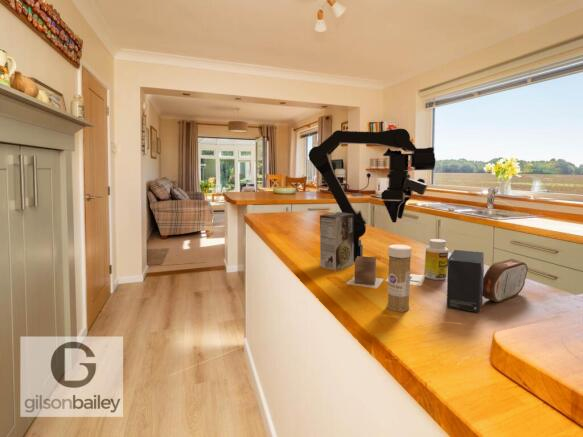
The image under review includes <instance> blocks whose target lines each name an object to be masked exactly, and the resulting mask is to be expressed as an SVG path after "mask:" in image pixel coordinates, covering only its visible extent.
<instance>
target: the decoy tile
mask: <svg viewBox="0 0 583 437" xmlns="http://www.w3.org/2000/svg"><path fill="white" fill-rule="evenodd" d="M383 281H385V278H380V277H376V281H375V285H366V284H355V275H354V276H353V277H351V278H350V280H348V281H347V283H345V284H346V285H351V286H358V287H363V288H364V287H365V288H372V289H378V288H379V286H380V285H381V284H382V283H383Z"/></svg>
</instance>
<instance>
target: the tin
mask: <svg viewBox="0 0 583 437" xmlns="http://www.w3.org/2000/svg"><path fill="white" fill-rule="evenodd" d="M527 273H528V265H527V264H526V262H524V261H521V260H518V259H515V258H509V259H506V260H502V261H498V262H497V261H496V262H494V263H492V264H491V265H490V266H489V267H488V269H487V270H486V271H485V273H484V278H483V297H482V298H484V299H487V300H490V301H492V302H495V303H501V302H502V301H505V300H508V299H511V298H514V297H516V296H517V295H519V294H520V293H521V291H522V290H523V289H524V287H525V284H526V278H527Z"/></svg>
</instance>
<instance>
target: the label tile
mask: <svg viewBox="0 0 583 437" xmlns="http://www.w3.org/2000/svg"><path fill="white" fill-rule="evenodd" d="M425 279H426V277H425V275H423V274H414V273H410V286H418V287H419V286H420V287H421V286H423V283H424V281H425ZM384 281H385V282H388V277H387V278H386V279H384Z"/></svg>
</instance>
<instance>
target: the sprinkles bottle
mask: <svg viewBox="0 0 583 437" xmlns="http://www.w3.org/2000/svg"><path fill="white" fill-rule="evenodd" d="M387 252H388V254H387V255H388V272H387V273H388V277H387V278H388V281H387V304H386V307H387V309H388V310H390V311H393V312H396V313H397V312H399V313H403V312H407V311H409V309H410V290H411V289H410V286H411V284H410V274H411V258H412V247H411V246H409V245H406V244H391V245H389V246H388V251H387Z"/></svg>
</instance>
